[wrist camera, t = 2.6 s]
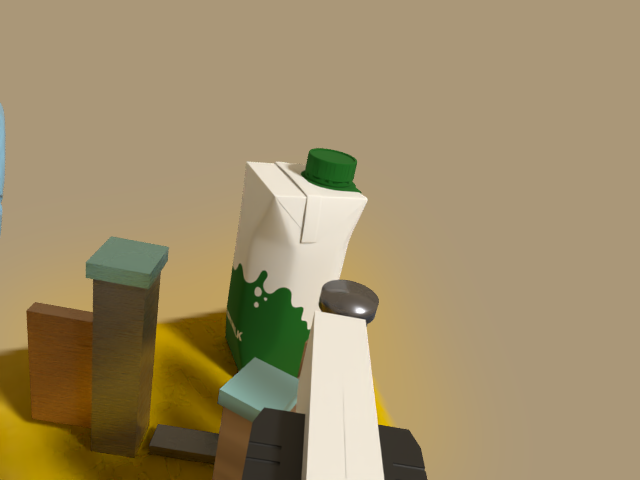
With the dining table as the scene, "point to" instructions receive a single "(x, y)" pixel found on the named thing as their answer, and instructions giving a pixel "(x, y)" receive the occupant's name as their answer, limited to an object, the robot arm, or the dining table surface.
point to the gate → (249, 410)
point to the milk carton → (288, 253)
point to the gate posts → (127, 353)
